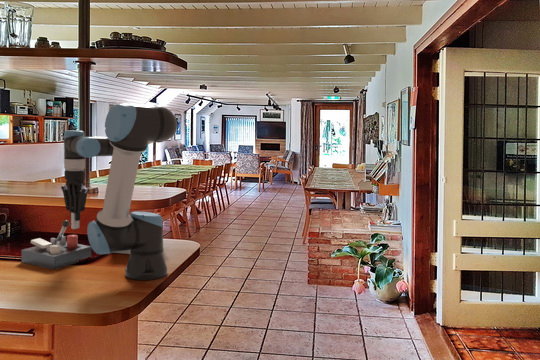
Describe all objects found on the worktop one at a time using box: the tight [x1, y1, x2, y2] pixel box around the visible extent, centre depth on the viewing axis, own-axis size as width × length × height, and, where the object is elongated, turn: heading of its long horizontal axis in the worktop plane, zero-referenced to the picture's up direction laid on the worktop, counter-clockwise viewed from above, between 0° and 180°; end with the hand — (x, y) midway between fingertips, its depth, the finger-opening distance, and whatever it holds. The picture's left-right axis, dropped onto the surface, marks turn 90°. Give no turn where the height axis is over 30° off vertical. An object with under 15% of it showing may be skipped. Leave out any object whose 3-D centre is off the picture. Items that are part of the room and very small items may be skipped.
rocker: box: [30, 237, 52, 248], centre depth 185 cm, size 7×4×1 cm, turn 65°
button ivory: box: [50, 245, 61, 254], centre depth 182 cm, size 4×4×5 cm
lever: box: [56, 219, 71, 241], centre depth 190 cm, size 3×3×10 cm
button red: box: [66, 234, 79, 249], centre depth 188 cm, size 4×4×5 cm
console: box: [20, 235, 92, 271], centre depth 187 cm, size 18×18×8 cm
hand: (75, 228), depth 187 cm, fingers closed
